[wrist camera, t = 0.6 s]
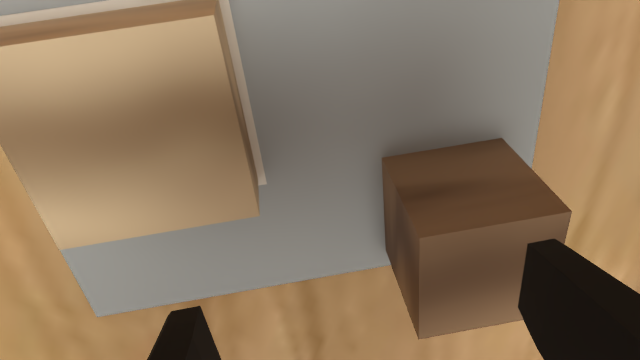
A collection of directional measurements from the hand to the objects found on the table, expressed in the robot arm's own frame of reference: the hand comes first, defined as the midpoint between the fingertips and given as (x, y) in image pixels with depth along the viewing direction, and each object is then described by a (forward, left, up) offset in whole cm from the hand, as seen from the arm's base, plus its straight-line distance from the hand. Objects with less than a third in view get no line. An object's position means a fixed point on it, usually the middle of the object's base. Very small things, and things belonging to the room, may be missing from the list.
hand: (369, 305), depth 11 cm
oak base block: (+2, +6, -9) cm, 11 cm away
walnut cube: (-4, -5, -9) cm, 11 cm away
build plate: (-1, +1, -10) cm, 10 cm away
